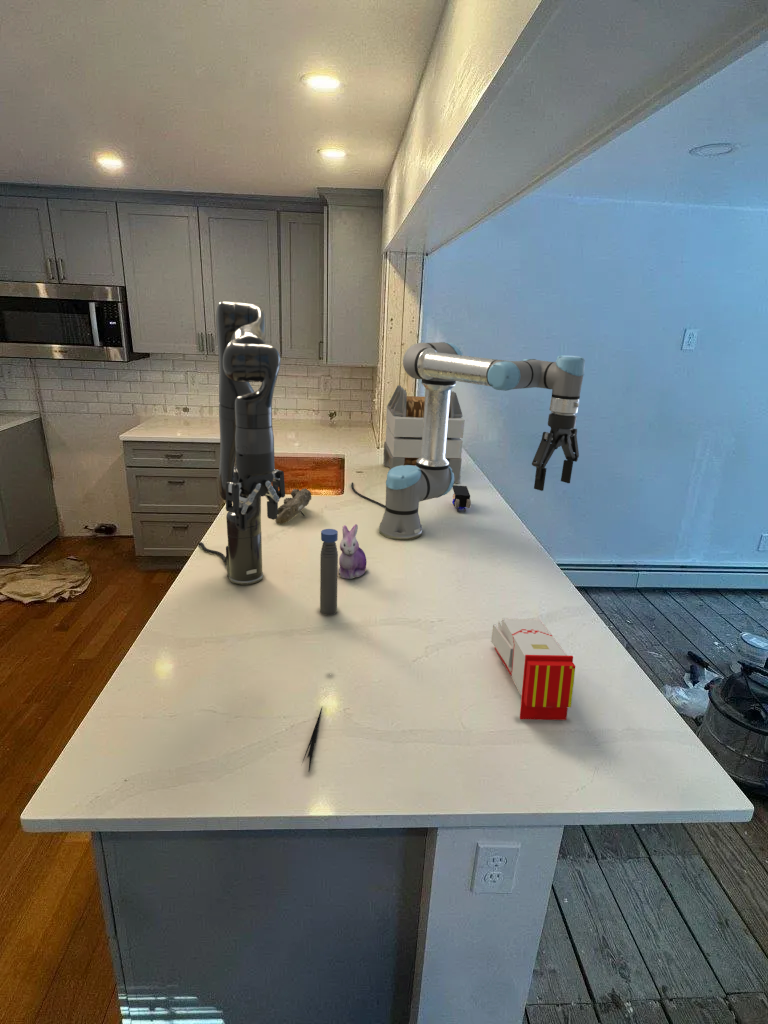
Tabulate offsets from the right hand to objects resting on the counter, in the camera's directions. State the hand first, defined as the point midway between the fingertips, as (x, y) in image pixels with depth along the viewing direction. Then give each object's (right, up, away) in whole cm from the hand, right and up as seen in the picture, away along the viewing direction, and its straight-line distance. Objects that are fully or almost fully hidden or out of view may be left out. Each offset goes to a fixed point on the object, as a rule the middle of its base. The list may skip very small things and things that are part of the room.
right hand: (552, 485), depth 166 cm
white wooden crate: (-32, +11, +109) cm, 115 cm away
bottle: (-64, -33, -18) cm, 74 cm away
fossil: (-83, -9, +47) cm, 95 cm away
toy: (-18, -44, -42) cm, 63 cm away
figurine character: (-18, -6, +64) cm, 67 cm away
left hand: (-75, -10, -48) cm, 90 cm away
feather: (-62, -47, -57) cm, 96 cm away
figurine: (-59, -26, +3) cm, 64 cm away
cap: (-63, -13, -25) cm, 69 cm away
